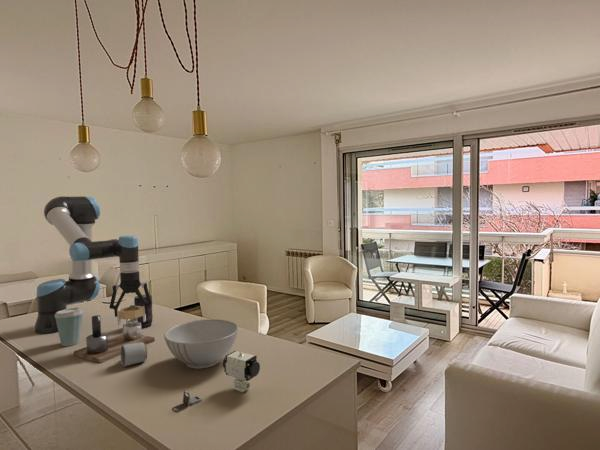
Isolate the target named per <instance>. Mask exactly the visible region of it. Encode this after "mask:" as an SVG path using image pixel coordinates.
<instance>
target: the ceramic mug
mask: <svg viewBox="0 0 600 450" xmlns="http://www.w3.org/2000/svg"><path fill="white" fill-rule="evenodd" d="M147 359H148V348H147V344H145V343H134V344H126V345H122V347H121V355H120V361H121V365H122V367H128V366H132V365H136V364H139V363H143V362H145V361H147Z"/></svg>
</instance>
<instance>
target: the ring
mask: <svg viewBox="0 0 600 450" xmlns="http://www.w3.org/2000/svg"><path fill="white" fill-rule="evenodd" d="M141 316H143V307H141V306H135V305H134V304H131V305H129V306H126V307H122V308H120V310H119V318H120V319H121V320H126V319H135V318H138V317H141Z"/></svg>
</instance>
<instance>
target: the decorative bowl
mask: <svg viewBox="0 0 600 450" xmlns="http://www.w3.org/2000/svg"><path fill="white" fill-rule="evenodd" d="M238 332H239V326H238V324H237V323H235V322H234V321H232V320H231V321H230V320H227V319H218V318H207V319H206V318H205V319H197V320H196V319H195V320H191V321H186V322H183V323H180V324H176V325H173V326H172V327H170V328H169V329H167V330H166V331H165V333H164V334H163V339H164V342H165V344H166V346H167V348H168V350H169V351H170V353H171V354H172V355H173V356H174V357H175V358H176V359H177V360H179V361H180V362H182V363H184V364H185V365H186V367H188V368H191V369H197V370H198V369H199V370H200V369H206V368H211V367H213V366H215V365H217V364H219V363H220V361H221V359H222V358H225V356H226V355H228V354H229V352H230V351H231V349H232V348H233V346H234V344H235V341H237V338H238V337H237V336H238Z"/></svg>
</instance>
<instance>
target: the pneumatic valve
mask: <svg viewBox="0 0 600 450" xmlns="http://www.w3.org/2000/svg"><path fill="white" fill-rule="evenodd" d="M257 357H258V356H257V355H254V354H250V353H246V352H242V351H238V350H234V351H232V352H230V353H227V354H226V355H225V356H224V357H223V360H222V367H223V369H224V371H223V372H224V373H225V375H226V376H230V377H233V378H235V379H233V382H232V383H233V390H234V391H237V392H240V393H245V391H248V390H249V389H250V388H251V382H250V380H252V379H254V378H256V376H258V375H259V373H260V370H261V365H260V363H259V361H258V359H257Z"/></svg>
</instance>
